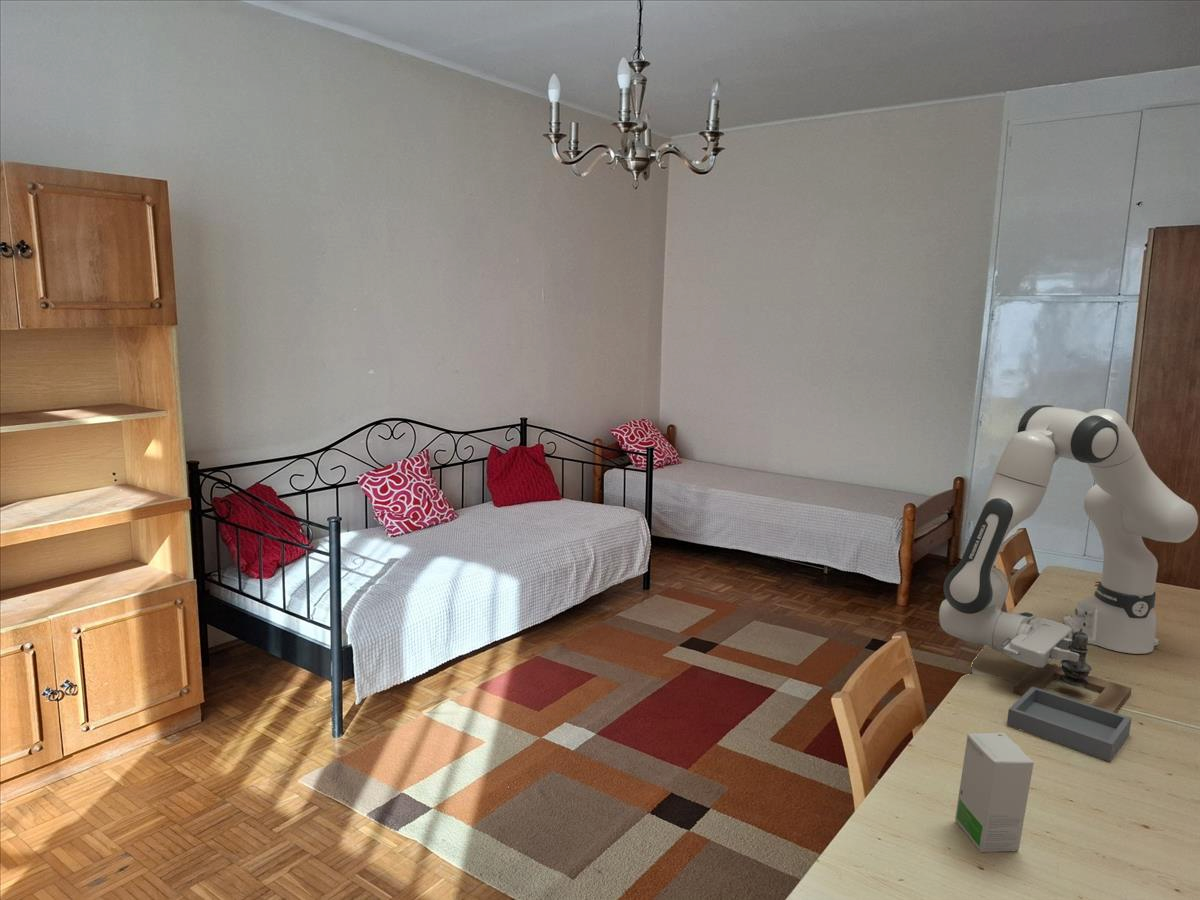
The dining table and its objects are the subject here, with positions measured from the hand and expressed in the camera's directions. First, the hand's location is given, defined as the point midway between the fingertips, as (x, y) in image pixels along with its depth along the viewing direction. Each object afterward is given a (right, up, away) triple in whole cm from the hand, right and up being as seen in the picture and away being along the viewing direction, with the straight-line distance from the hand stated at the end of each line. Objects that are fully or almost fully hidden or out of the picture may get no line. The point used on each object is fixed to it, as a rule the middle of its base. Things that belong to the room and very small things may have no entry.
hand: (1082, 654), depth 175 cm
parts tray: (-10, -12, -13) cm, 20 cm away
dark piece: (-1, -6, +2) cm, 7 cm away
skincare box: (-41, -17, -46) cm, 64 cm away
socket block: (-1, -9, +2) cm, 9 cm away
